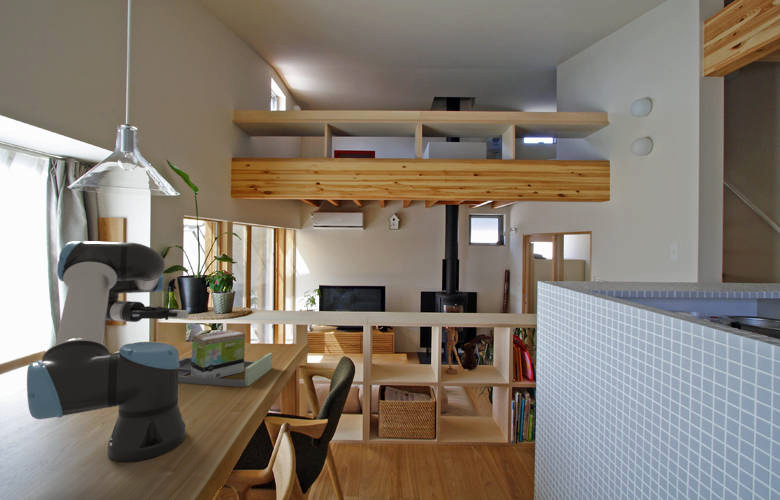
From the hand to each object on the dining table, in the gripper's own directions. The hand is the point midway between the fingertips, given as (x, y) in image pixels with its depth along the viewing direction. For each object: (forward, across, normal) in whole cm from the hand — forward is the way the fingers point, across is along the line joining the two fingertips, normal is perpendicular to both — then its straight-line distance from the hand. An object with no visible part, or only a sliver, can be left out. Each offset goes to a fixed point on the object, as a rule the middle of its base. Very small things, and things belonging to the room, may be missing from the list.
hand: (186, 314), depth 132 cm
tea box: (+13, 0, -21) cm, 25 cm away
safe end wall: (+29, 0, -21) cm, 36 cm away
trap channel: (+11, 0, -21) cm, 24 cm away
